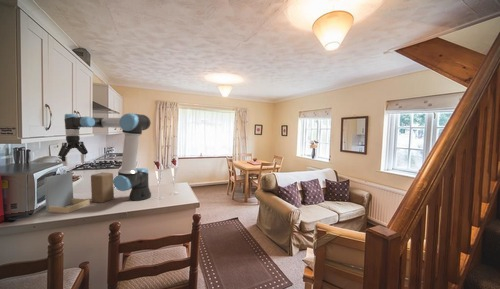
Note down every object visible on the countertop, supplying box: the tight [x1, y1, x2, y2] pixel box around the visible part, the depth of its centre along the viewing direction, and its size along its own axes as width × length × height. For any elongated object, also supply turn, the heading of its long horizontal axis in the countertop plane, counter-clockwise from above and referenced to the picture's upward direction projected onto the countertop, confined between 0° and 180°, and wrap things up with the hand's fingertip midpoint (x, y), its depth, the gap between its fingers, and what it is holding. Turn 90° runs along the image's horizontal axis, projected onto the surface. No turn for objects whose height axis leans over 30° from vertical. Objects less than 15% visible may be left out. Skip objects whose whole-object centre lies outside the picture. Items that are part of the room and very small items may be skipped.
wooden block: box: [90, 172, 115, 203], centre depth 150 cm, size 10×10×20 cm
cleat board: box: [43, 171, 91, 214], centre depth 135 cm, size 16×16×22 cm
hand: (74, 164), depth 148 cm, fingers open, 13 cm apart
